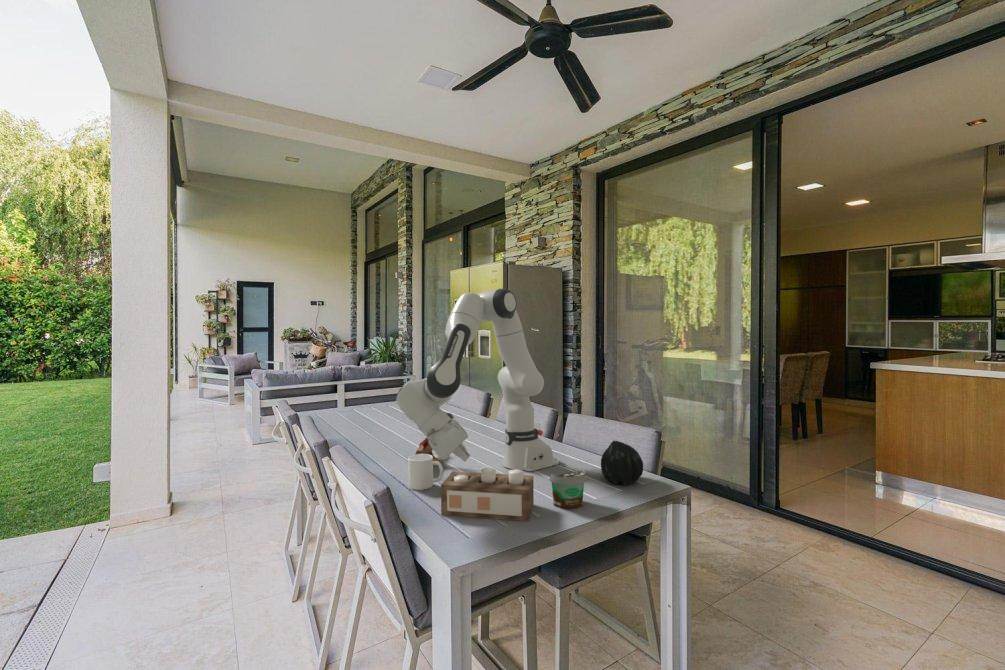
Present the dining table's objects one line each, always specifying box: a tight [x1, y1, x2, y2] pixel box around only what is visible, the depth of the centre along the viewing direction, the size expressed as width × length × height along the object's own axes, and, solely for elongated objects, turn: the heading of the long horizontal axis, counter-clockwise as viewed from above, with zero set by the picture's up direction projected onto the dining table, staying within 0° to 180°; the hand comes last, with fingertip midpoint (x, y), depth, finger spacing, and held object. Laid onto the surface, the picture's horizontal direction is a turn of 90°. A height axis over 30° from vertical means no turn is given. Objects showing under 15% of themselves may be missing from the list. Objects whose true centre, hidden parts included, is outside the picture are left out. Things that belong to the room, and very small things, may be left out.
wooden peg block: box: [440, 470, 535, 522], centre depth 139 cm, size 26×12×9 cm, turn 80°
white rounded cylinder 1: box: [480, 467, 497, 484], centre depth 139 cm, size 4×4×5 cm
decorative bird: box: [414, 436, 444, 464], centre depth 184 cm, size 28×18×15 cm, turn 179°
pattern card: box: [447, 490, 522, 516], centre depth 133 cm, size 22×1×6 cm, turn 80°
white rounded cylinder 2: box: [508, 469, 525, 485], centre depth 137 cm, size 4×4×5 cm
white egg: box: [454, 475, 468, 482], centre depth 141 cm, size 4×4×5 cm
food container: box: [548, 468, 587, 510], centre depth 141 cm, size 12×6×10 cm, turn 114°
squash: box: [600, 440, 644, 486], centre depth 163 cm, size 14×15×15 cm
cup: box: [407, 453, 444, 491], centre depth 159 cm, size 8×12×10 cm
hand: (467, 458), depth 140 cm, fingers closed
